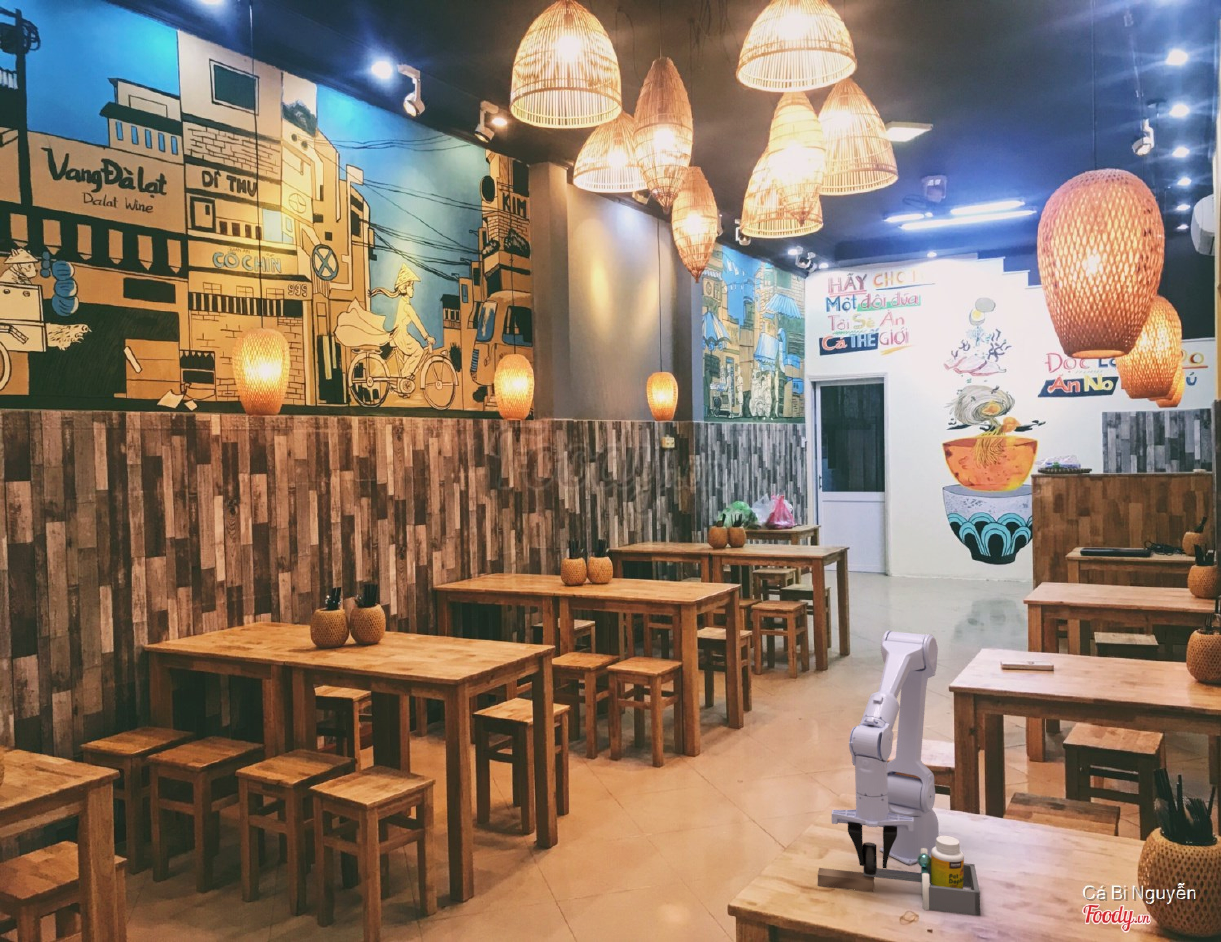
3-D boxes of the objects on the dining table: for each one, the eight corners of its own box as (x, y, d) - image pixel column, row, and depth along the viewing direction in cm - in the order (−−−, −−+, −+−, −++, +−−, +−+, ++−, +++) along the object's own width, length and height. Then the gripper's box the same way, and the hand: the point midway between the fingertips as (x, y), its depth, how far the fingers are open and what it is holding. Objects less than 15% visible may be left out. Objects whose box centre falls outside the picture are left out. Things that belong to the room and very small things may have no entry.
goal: (922, 909, 159) (922, 875, 159) (921, 879, 171) (920, 847, 171) (980, 916, 157) (979, 881, 157) (974, 885, 168) (974, 853, 168)
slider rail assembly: (863, 893, 165) (862, 852, 165) (864, 876, 172) (863, 836, 172) (932, 901, 161) (931, 859, 161) (931, 883, 168) (930, 843, 168)
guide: (817, 886, 169) (817, 874, 169) (819, 878, 172) (819, 867, 172) (873, 892, 166) (873, 880, 166) (874, 885, 169) (873, 873, 169)
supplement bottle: (949, 906, 160) (950, 849, 160) (923, 893, 165) (924, 837, 165) (970, 899, 163) (970, 842, 163) (944, 886, 168) (945, 831, 168)
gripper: (829, 795, 166) (831, 869, 166) (913, 802, 162) (915, 878, 162) (832, 782, 173) (833, 853, 173) (912, 789, 168) (914, 862, 168)
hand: (873, 864), depth 168 cm, fingers open, 3 cm apart
